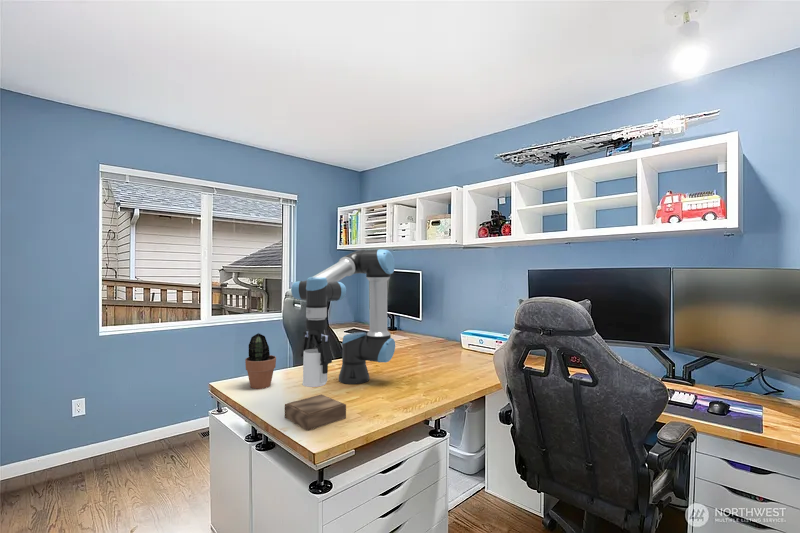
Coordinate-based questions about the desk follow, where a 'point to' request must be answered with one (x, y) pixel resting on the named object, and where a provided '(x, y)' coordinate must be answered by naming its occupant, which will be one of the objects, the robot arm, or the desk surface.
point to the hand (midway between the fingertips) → (315, 379)
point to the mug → (311, 368)
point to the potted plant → (259, 363)
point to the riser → (315, 411)
